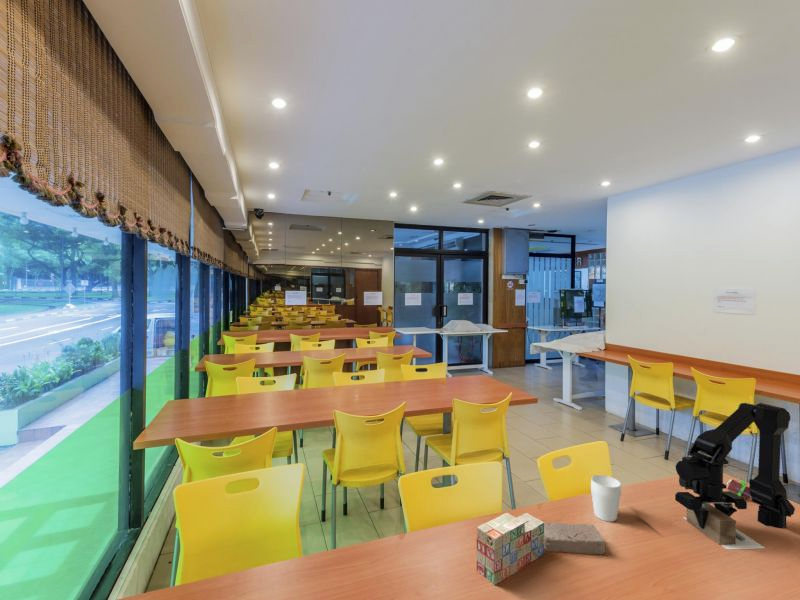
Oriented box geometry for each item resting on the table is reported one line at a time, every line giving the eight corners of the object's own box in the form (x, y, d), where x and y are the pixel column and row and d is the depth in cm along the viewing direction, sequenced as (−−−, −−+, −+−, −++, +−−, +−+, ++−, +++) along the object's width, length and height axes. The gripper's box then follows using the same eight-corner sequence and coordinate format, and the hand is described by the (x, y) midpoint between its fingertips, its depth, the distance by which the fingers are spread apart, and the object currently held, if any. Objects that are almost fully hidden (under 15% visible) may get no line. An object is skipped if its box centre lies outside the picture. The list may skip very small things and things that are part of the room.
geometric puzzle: (754, 491, 143) (738, 471, 145) (762, 499, 137) (745, 479, 139) (734, 499, 145) (719, 479, 147) (742, 508, 139) (725, 487, 141)
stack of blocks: (526, 543, 114) (526, 502, 114) (544, 554, 109) (545, 512, 109) (476, 571, 102) (476, 526, 102) (494, 586, 97) (494, 538, 97)
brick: (546, 552, 110) (546, 536, 110) (538, 534, 119) (539, 519, 119) (606, 557, 109) (606, 541, 109) (594, 538, 117) (594, 523, 117)
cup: (621, 514, 130) (621, 479, 130) (619, 527, 123) (620, 490, 122) (591, 506, 135) (592, 472, 135) (588, 518, 127) (589, 482, 127)
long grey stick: (721, 524, 122) (721, 522, 122) (744, 540, 114) (745, 538, 114) (717, 524, 122) (717, 522, 122) (741, 540, 114) (741, 538, 114)
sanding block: (701, 520, 124) (701, 499, 124) (735, 544, 112) (735, 520, 112) (686, 520, 124) (686, 499, 124) (719, 544, 112) (719, 521, 112)
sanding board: (717, 521, 127) (717, 516, 127) (765, 553, 111) (765, 548, 111) (682, 521, 126) (682, 517, 126) (726, 554, 110) (726, 549, 110)
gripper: (716, 465, 127) (715, 512, 127) (662, 466, 126) (661, 513, 126) (749, 482, 115) (747, 533, 116) (690, 482, 114) (689, 534, 115)
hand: (709, 527), depth 118 cm, fingers closed on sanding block, 5 cm apart
